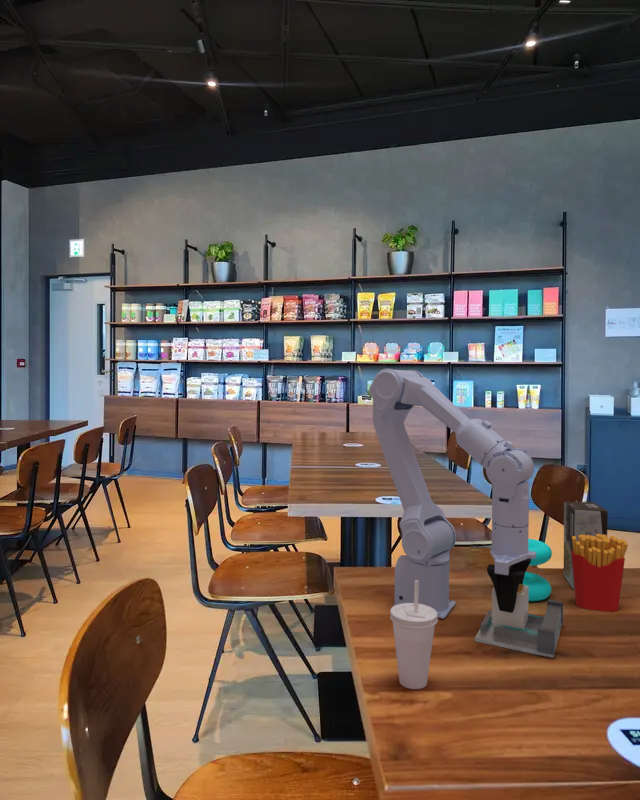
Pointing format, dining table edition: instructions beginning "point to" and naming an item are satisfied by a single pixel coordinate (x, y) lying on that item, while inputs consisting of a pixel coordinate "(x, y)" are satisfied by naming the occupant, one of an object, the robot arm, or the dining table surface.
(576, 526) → the coffee box
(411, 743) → the dining table surface
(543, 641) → the rail
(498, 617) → the block
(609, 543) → the french fries
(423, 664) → the smoothie
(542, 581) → the donuts
